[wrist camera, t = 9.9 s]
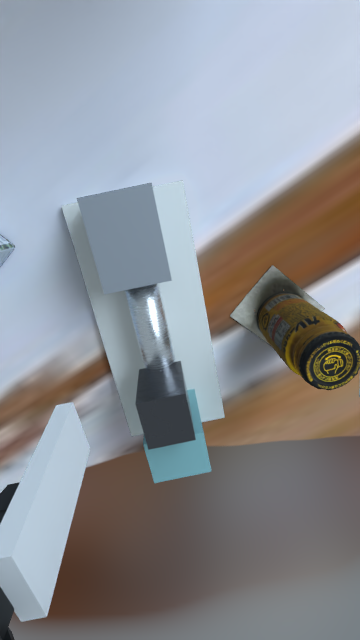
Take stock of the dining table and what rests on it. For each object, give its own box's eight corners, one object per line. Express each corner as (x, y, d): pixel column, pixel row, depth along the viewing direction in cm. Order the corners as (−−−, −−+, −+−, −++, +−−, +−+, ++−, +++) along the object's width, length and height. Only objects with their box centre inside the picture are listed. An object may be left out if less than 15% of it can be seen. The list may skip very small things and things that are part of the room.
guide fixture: (64, 205, 32) (31, 206, 24) (182, 181, 32) (190, 172, 24) (132, 431, 42) (125, 489, 33) (223, 412, 42) (240, 465, 33)
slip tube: (111, 250, 32) (96, 267, 24) (155, 241, 32) (155, 254, 24) (159, 430, 39) (160, 490, 31) (194, 423, 39) (205, 481, 31)
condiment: (281, 353, 40) (331, 413, 28) (229, 315, 37) (260, 363, 26) (323, 307, 38) (394, 351, 27) (271, 264, 36) (324, 292, 25)
